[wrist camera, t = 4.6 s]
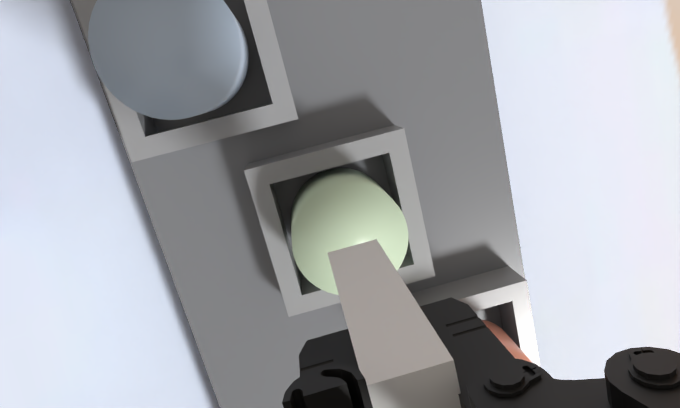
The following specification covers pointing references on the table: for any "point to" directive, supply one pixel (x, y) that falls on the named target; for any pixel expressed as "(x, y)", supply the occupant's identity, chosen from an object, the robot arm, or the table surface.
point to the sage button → (343, 222)
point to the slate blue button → (168, 54)
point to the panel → (323, 154)
